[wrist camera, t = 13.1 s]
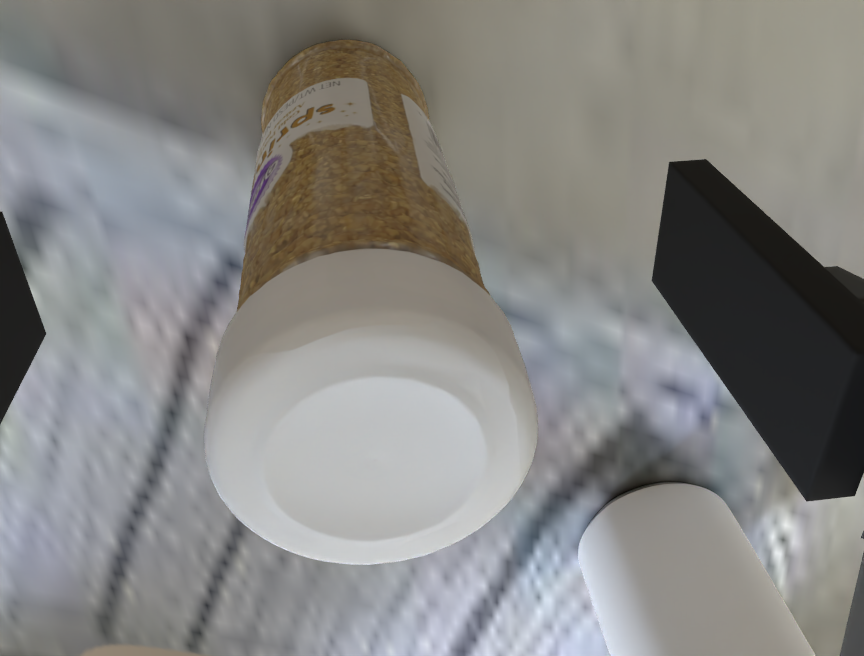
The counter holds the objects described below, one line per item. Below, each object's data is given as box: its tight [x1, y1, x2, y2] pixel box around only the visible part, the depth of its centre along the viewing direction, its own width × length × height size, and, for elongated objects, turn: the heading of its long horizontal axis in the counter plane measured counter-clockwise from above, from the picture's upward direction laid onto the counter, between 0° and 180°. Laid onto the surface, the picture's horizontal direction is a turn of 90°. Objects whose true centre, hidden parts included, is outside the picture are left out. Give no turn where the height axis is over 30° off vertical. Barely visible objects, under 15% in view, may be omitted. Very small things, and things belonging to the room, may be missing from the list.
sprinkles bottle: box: [204, 40, 538, 565], centre depth 16 cm, size 5×5×14 cm
